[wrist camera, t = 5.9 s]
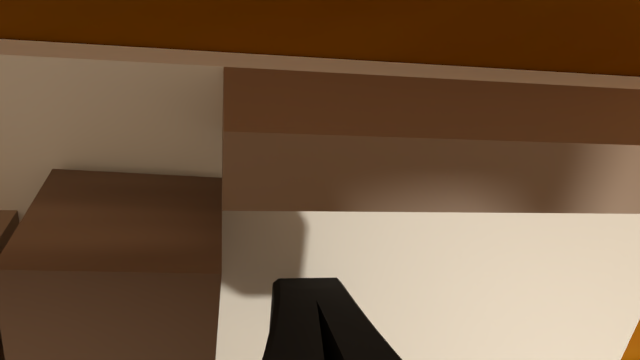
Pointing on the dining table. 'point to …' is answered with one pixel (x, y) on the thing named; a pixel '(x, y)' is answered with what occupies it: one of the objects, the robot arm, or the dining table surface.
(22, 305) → the leg
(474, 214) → the seat board
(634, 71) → the dining table surface
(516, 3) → the dining table surface
